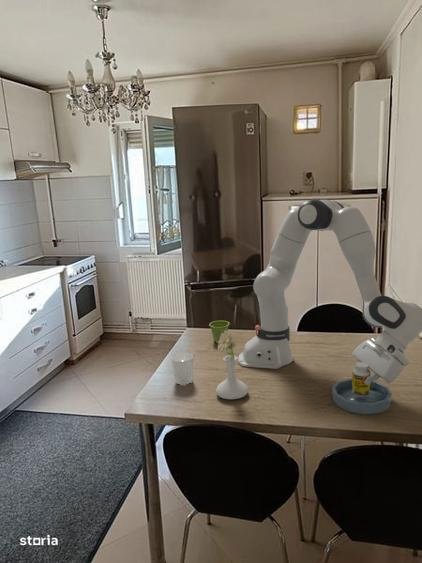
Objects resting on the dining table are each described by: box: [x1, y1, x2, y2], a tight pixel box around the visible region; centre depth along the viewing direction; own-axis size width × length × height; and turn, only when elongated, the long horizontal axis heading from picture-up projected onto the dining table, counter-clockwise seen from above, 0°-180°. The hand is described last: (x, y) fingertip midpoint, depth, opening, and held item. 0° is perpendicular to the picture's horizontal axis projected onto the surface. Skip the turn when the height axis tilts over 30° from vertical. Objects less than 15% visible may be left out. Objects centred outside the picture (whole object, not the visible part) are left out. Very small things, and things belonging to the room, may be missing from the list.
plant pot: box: [208, 320, 230, 344], centre depth 204 cm, size 9×9×9 cm
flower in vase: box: [215, 329, 249, 400], centre depth 149 cm, size 13×11×25 cm
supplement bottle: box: [351, 362, 372, 397], centre depth 142 cm, size 6×6×10 cm
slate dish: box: [331, 377, 393, 415], centre depth 144 cm, size 18×18×4 cm
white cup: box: [171, 352, 194, 386], centre depth 164 cm, size 8×8×10 cm
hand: (359, 378), depth 142 cm, fingers closed on supplement bottle, 5 cm apart
